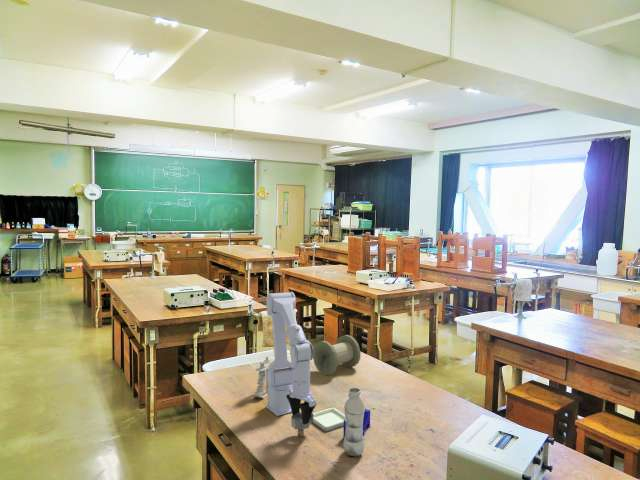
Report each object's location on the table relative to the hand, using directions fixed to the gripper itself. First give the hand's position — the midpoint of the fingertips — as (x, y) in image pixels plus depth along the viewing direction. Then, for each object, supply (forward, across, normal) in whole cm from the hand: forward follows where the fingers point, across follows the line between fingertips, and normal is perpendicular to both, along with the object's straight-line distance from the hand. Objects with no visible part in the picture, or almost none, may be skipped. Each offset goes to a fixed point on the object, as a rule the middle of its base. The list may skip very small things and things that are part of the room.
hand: (300, 419), depth 147 cm
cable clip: (+6, +9, +18) cm, 21 cm away
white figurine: (+6, -35, +3) cm, 36 cm away
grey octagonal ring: (+2, 0, 0) cm, 2 cm away
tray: (+6, -3, +14) cm, 15 cm away
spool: (+6, -42, +46) cm, 63 cm away
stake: (+6, 0, 0) cm, 6 cm away
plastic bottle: (+6, +18, +8) cm, 21 cm away
